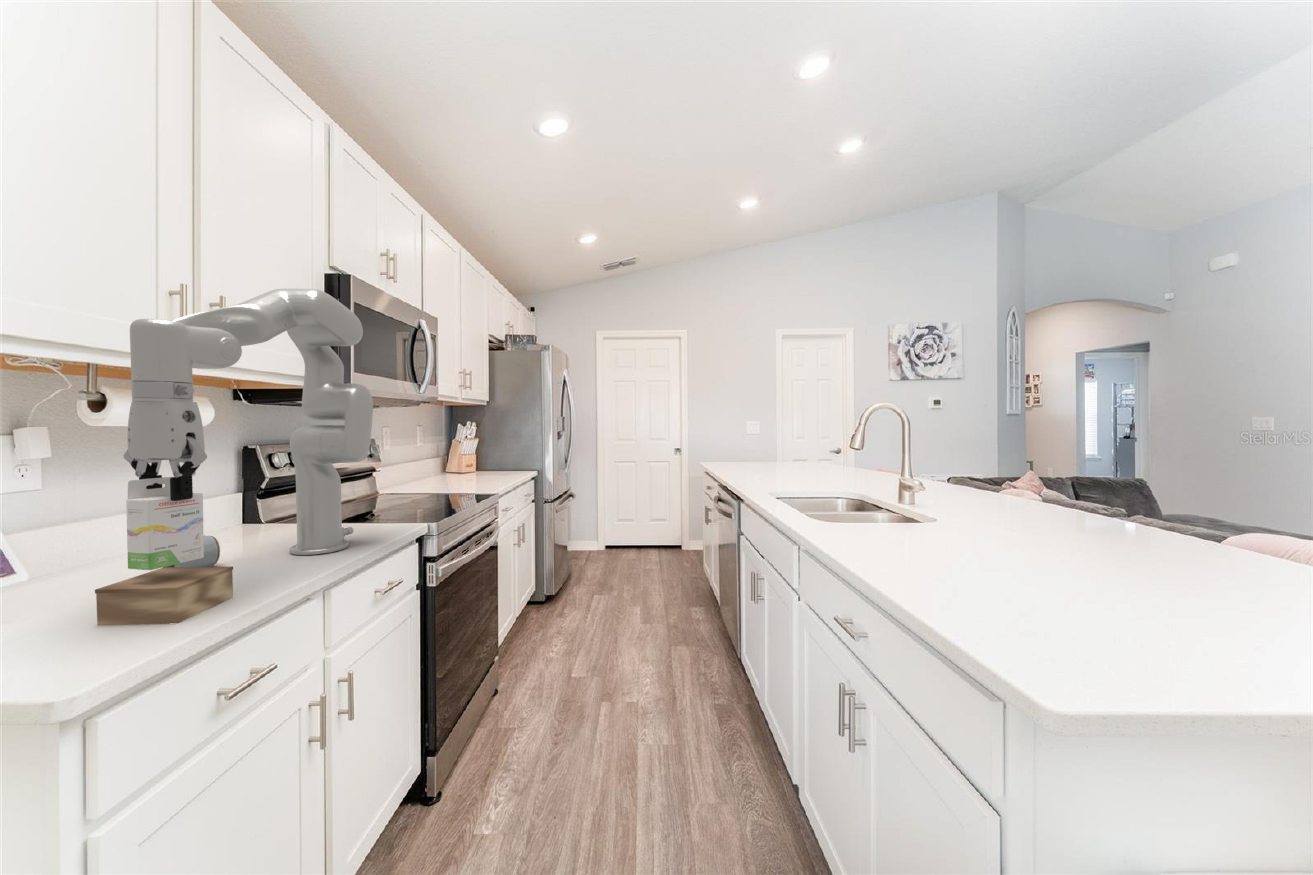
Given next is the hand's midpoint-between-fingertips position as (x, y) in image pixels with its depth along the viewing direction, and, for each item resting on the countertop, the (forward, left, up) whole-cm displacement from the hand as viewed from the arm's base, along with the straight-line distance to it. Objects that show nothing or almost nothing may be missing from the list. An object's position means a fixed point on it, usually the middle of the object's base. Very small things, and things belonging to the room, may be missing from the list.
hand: (166, 498), depth 87 cm
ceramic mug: (-22, -22, -20) cm, 36 cm away
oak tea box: (0, 0, -20) cm, 20 cm away
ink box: (0, 0, -11) cm, 11 cm away
